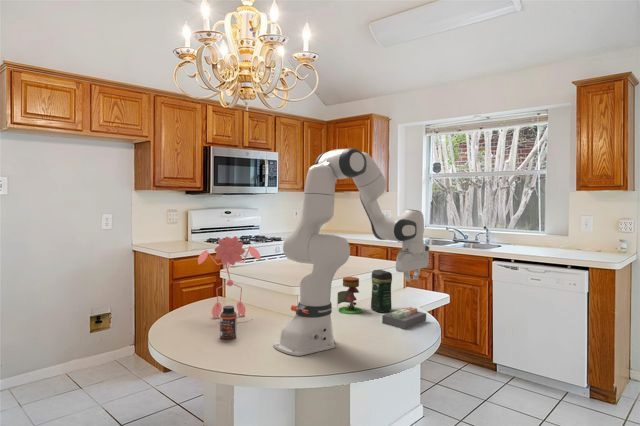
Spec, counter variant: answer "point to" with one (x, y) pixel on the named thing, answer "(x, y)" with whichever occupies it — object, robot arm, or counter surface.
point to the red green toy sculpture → (349, 296)
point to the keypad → (404, 320)
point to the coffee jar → (381, 291)
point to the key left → (398, 315)
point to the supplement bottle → (228, 323)
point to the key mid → (405, 312)
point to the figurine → (229, 254)
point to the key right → (412, 310)
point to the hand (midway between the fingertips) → (411, 280)
